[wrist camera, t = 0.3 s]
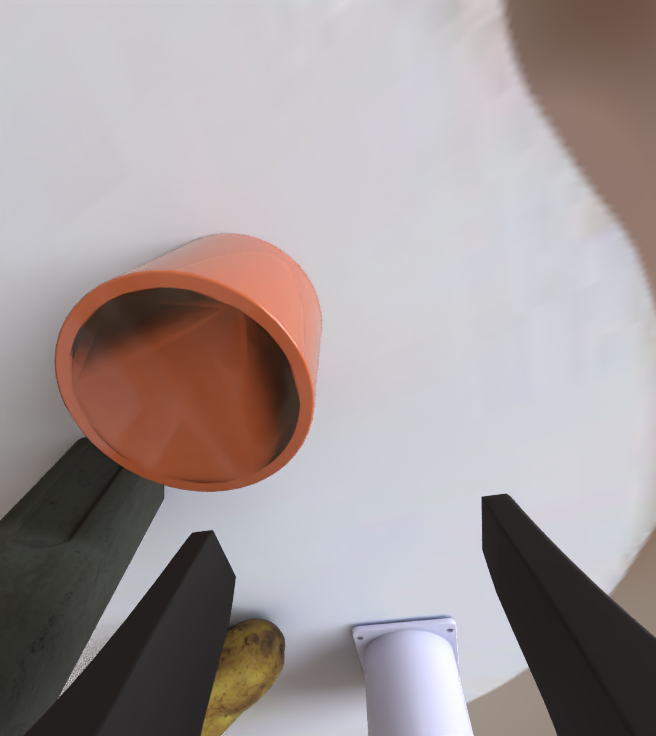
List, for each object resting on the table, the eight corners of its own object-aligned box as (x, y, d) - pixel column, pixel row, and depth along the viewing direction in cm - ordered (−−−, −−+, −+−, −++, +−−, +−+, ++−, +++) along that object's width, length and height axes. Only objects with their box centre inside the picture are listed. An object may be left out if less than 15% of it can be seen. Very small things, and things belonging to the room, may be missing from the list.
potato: (307, 654, 32) (298, 793, 25) (167, 668, 33) (121, 802, 26) (279, 597, 28) (260, 740, 21) (124, 615, 30) (57, 755, 22)
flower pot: (336, 379, 19) (336, 476, 13) (190, 403, 20) (125, 505, 14) (300, 215, 16) (276, 242, 9) (125, 253, 16) (-3, 301, 10)
